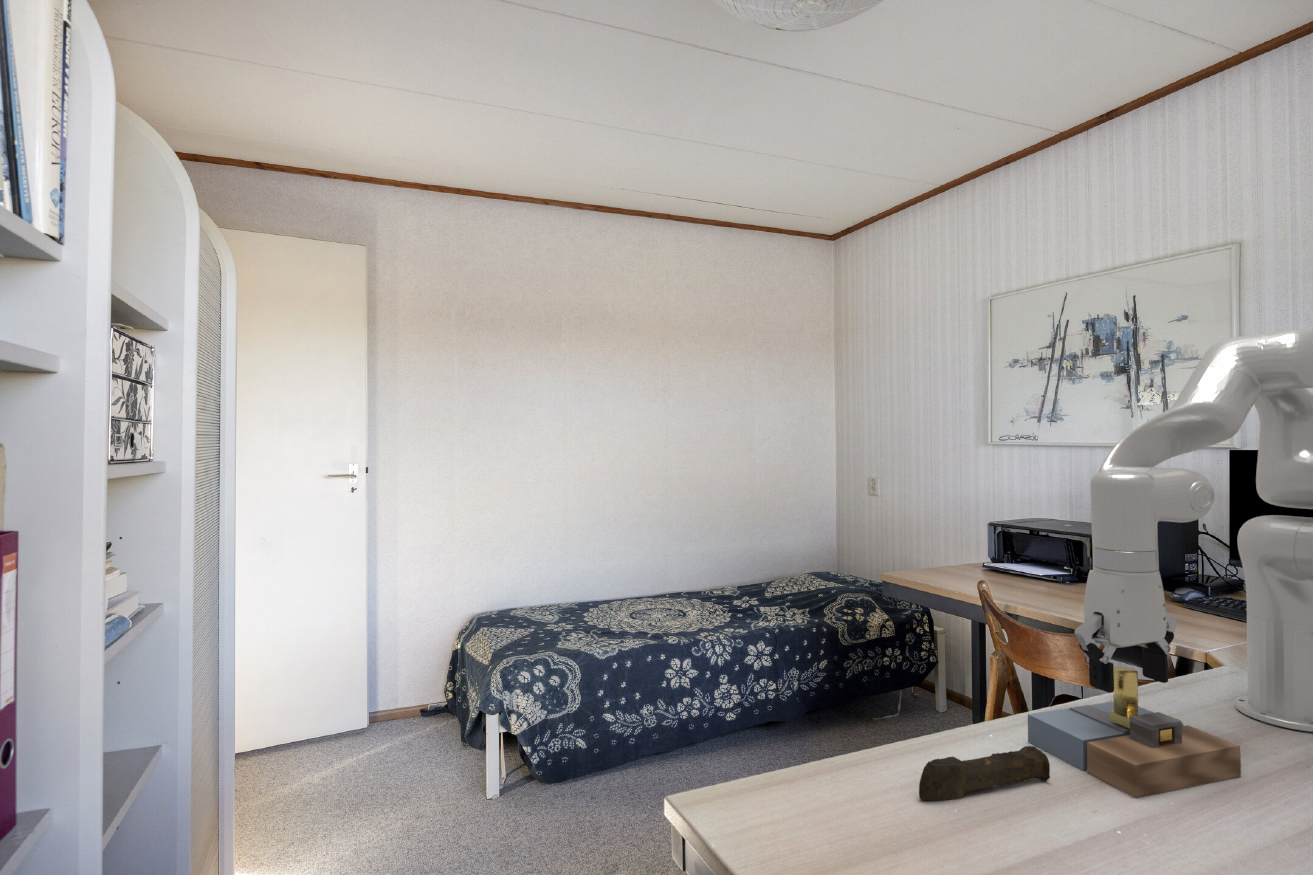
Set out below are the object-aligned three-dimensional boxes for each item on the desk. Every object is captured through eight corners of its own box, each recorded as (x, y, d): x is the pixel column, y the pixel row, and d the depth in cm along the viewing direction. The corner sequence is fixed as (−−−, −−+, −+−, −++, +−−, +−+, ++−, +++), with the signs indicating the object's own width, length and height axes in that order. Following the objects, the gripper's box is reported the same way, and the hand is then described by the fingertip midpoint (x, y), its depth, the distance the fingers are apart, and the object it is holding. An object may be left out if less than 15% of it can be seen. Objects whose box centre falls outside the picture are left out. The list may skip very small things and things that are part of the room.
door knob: (1123, 718, 95) (1122, 665, 95) (1174, 739, 88) (1173, 682, 88) (1108, 720, 94) (1107, 667, 94) (1158, 741, 87) (1157, 684, 87)
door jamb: (1187, 754, 94) (1187, 704, 94) (1240, 776, 87) (1240, 723, 87) (1087, 772, 88) (1086, 719, 89) (1135, 797, 82) (1135, 741, 82)
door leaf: (1122, 726, 103) (1122, 698, 103) (1183, 752, 94) (1183, 721, 94) (1028, 741, 98) (1027, 711, 98) (1083, 770, 89) (1082, 737, 89)
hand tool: (1026, 770, 90) (1026, 735, 90) (1052, 784, 86) (1051, 748, 86) (905, 792, 84) (904, 755, 85) (926, 808, 81) (926, 769, 81)
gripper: (1145, 551, 99) (1149, 667, 99) (1052, 561, 94) (1056, 683, 94) (1199, 560, 92) (1203, 685, 92) (1101, 571, 87) (1105, 703, 87)
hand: (1128, 684), depth 93 cm, fingers open, 9 cm apart
